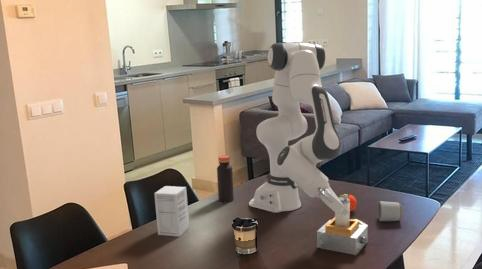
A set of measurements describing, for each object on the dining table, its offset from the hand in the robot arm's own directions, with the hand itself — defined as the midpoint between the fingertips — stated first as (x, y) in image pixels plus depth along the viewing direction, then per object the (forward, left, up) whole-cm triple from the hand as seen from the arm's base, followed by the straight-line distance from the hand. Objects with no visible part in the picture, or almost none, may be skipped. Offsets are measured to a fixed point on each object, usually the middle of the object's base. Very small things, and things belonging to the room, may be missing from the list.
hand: (344, 209), depth 182 cm
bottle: (-64, +23, -13) cm, 69 cm away
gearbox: (-1, 0, -13) cm, 13 cm away
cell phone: (-6, +16, -13) cm, 21 cm away
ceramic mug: (+7, +30, -13) cm, 33 cm away
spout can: (-1, 0, -6) cm, 6 cm away
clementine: (-11, +32, -13) cm, 36 cm away
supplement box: (-63, -16, -13) cm, 66 cm away
